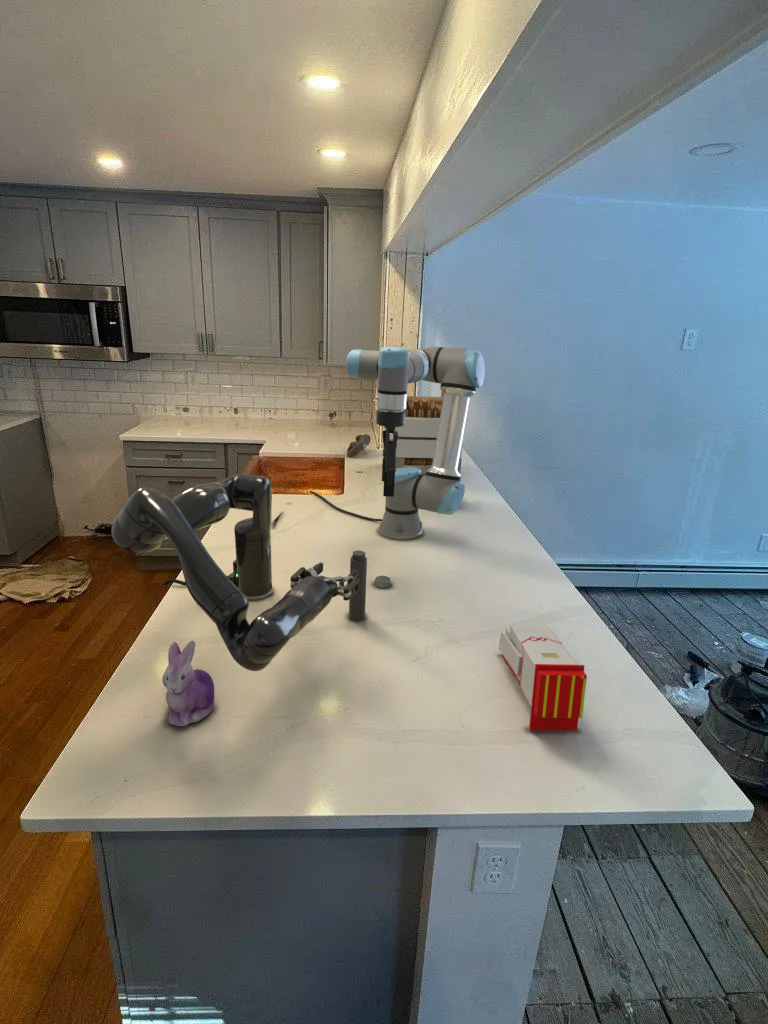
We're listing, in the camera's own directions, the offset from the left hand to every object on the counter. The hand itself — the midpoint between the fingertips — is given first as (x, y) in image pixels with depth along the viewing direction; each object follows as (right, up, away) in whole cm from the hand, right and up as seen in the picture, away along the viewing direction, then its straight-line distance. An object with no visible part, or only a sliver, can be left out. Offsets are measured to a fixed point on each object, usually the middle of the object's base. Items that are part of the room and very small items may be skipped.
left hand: (338, 569), depth 129 cm
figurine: (-27, -25, -20) cm, 42 cm away
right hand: (+11, +20, +25) cm, 33 cm away
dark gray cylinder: (+3, -14, +17) cm, 22 cm away
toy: (+42, -24, -8) cm, 49 cm away
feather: (-28, +12, +83) cm, 89 cm away
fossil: (-4, +45, +178) cm, 183 cm away
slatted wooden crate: (+28, +32, +146) cm, 152 cm away
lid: (+10, -6, +34) cm, 36 cm away
